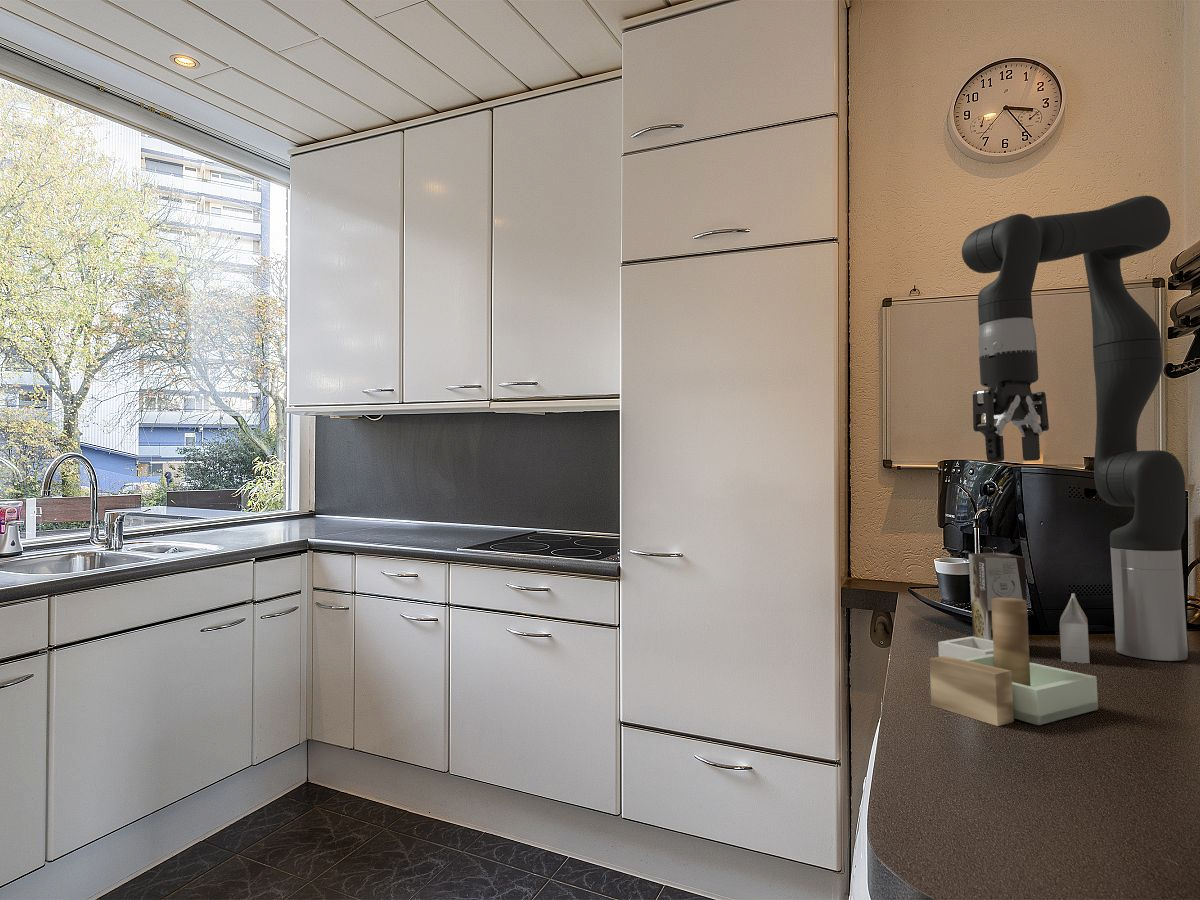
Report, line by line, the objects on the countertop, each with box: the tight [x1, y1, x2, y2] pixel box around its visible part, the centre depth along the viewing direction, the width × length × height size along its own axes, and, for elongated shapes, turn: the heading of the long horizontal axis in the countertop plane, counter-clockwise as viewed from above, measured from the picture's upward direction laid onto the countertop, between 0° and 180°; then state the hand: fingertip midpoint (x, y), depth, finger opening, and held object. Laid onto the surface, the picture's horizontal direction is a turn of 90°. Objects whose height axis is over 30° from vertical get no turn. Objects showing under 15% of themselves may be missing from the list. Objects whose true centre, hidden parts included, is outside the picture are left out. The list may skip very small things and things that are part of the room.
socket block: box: [937, 635, 994, 659], centre depth 110 cm, size 8×8×4 cm
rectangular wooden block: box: [928, 656, 1015, 727], centre depth 88 cm, size 3×9×6 cm, turn 26°
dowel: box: [991, 598, 1031, 686], centre depth 92 cm, size 4×4×12 cm
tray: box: [962, 654, 1099, 726], centre depth 91 cm, size 12×14×4 cm
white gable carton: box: [1059, 592, 1090, 665], centre depth 114 cm, size 4×7×10 cm, turn 146°
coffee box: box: [968, 552, 1030, 643], centre depth 122 cm, size 9×6×16 cm
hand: (1013, 461), depth 105 cm, fingers open, 8 cm apart
